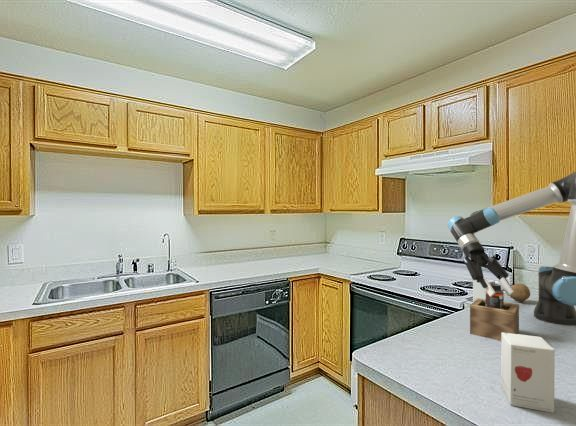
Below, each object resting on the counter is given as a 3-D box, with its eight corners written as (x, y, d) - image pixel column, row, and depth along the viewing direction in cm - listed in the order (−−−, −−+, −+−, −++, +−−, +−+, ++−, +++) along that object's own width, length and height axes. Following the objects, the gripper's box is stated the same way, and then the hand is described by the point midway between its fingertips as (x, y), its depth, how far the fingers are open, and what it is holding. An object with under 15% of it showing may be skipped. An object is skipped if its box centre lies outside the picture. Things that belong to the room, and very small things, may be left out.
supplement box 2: (509, 406, 78) (509, 344, 78) (500, 387, 86) (500, 331, 86) (556, 414, 75) (555, 349, 75) (541, 394, 83) (541, 335, 83)
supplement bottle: (506, 316, 121) (506, 286, 121) (488, 315, 123) (489, 285, 123) (499, 311, 127) (499, 283, 127) (482, 310, 128) (483, 282, 128)
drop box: (519, 332, 125) (518, 304, 125) (514, 343, 115) (514, 312, 115) (478, 324, 135) (478, 298, 135) (470, 333, 124) (470, 305, 124)
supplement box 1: (487, 308, 158) (487, 282, 158) (472, 304, 164) (472, 279, 164) (495, 306, 161) (495, 280, 161) (480, 302, 168) (480, 278, 168)
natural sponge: (533, 305, 162) (533, 285, 162) (512, 303, 165) (512, 284, 165) (527, 301, 170) (527, 282, 170) (507, 299, 174) (507, 281, 174)
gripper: (487, 251, 142) (519, 298, 125) (445, 252, 139) (472, 300, 123) (496, 240, 136) (531, 288, 120) (453, 241, 133) (483, 289, 117)
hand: (501, 294), depth 121 cm, fingers open, 7 cm apart
